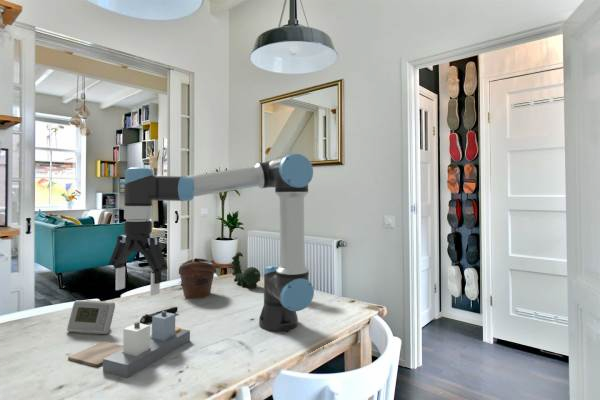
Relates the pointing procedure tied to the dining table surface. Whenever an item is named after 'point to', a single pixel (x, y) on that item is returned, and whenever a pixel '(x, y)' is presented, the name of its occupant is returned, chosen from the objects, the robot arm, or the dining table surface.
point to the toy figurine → (245, 273)
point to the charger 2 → (163, 326)
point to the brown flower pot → (197, 277)
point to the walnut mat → (96, 353)
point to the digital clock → (91, 317)
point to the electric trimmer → (149, 317)
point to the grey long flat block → (144, 355)
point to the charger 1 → (136, 339)
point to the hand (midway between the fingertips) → (137, 291)
